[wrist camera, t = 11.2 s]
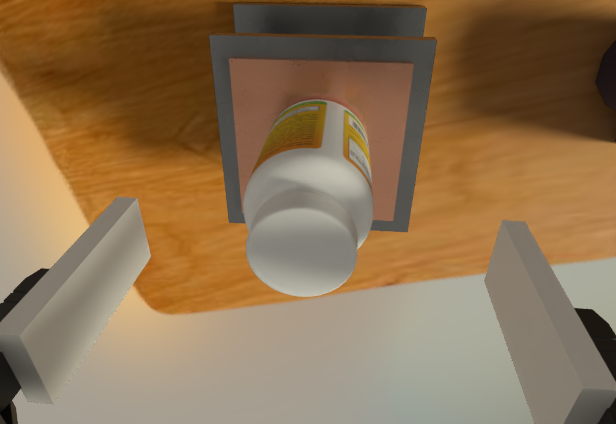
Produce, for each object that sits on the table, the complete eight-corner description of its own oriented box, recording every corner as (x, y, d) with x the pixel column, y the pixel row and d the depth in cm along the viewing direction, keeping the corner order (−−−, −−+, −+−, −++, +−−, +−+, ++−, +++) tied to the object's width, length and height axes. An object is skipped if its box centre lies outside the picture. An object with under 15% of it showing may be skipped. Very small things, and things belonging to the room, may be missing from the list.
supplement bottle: (256, 169, 25) (208, 284, 16) (287, 80, 22) (249, 165, 14) (344, 202, 25) (340, 329, 17) (385, 119, 23) (405, 224, 14)
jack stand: (424, 5, 28) (451, 31, 20) (401, 175, 34) (415, 243, 26) (237, 2, 28) (195, 25, 21) (249, 168, 35) (220, 232, 27)
